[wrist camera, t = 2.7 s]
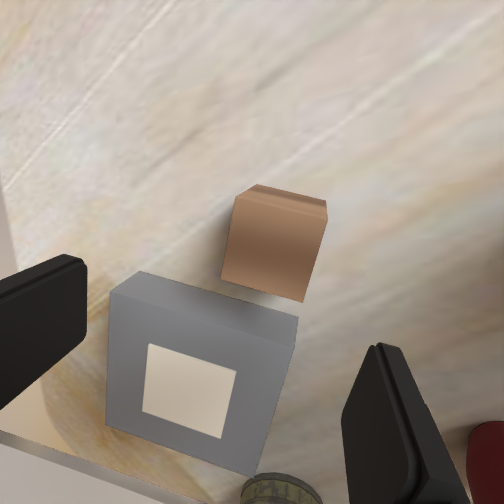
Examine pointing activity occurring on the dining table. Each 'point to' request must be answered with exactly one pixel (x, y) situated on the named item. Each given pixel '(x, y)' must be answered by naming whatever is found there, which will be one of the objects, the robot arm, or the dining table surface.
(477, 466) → the mug
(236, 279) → the walnut block
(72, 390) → the dining table surface
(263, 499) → the thermos
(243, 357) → the slate pedestal
